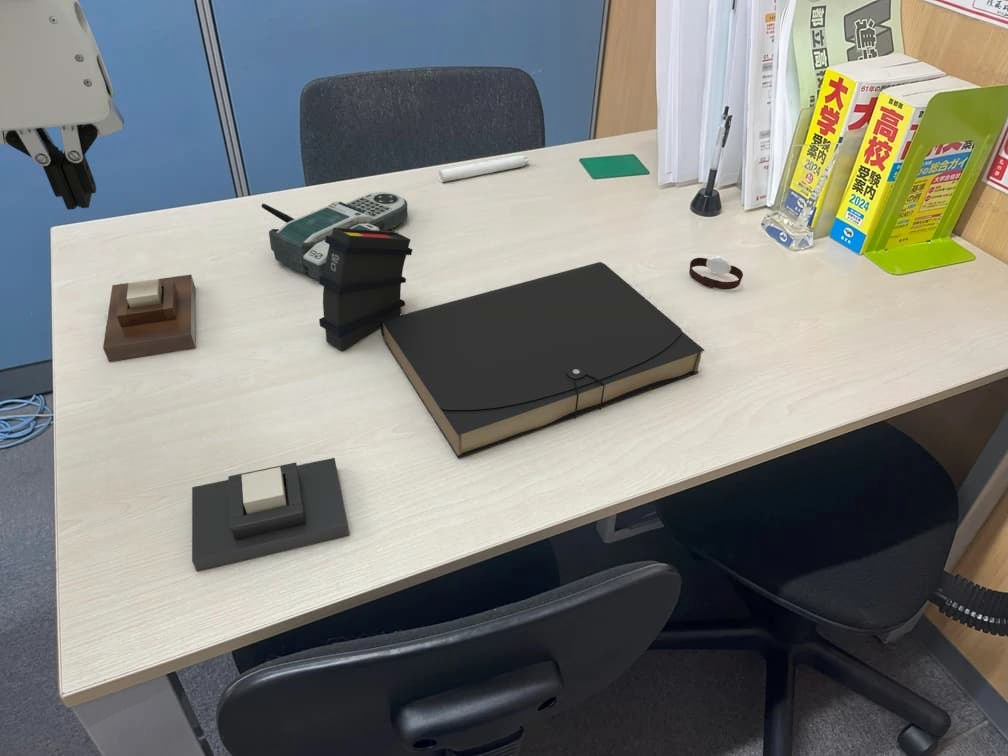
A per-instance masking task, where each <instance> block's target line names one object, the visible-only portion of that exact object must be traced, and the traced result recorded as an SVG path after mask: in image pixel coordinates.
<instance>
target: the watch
mask: <svg viewBox="0 0 1008 756" xmlns="http://www.w3.org/2000/svg"><path fill="white" fill-rule="evenodd" d="M694 267H705V268H707V269H708V270H709V271H710V272H711V273H713V274H715V275H718V276H724V275H726V274H730V275H733V276H734V277H736V278H737V279H736V280H733V281H722V280H719V279H713V278H711V277H709V276H705V275H704V276H703V275H701V274H700V273H698V272H696V271H695V270H694V269H693V268H694ZM688 273H689V276H690V278H691V279H692V280H694V281H695V282H697V283H699V284H700V285H702V286H704V287H707V288H710V289H717V290H723V291H725V290H726V291H728V290H733V289H736V288H738V287H739V286H741V285H740V284H741V282H742V279H743V277H744V273H743V271H742V270H741V269H740V268H739V267H737V266H734V265H732V264H731V262H730V261H729V260H728V259H726V258H725V257H723V256H721V255H719V256H718V255H717V256H712V257H710V258H707V257H706V258H705V257H695V258H693V259H691V261H690V263H689V272H688Z"/></svg>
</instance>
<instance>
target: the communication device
mask: <svg viewBox="0 0 1008 756" xmlns="http://www.w3.org/2000/svg"><path fill="white" fill-rule="evenodd" d="M261 208H262V209H264V210H265V211H267V212H269V213H270V214H271V215H273V216H275V217H276V218H278V219H279V220H281V221H282V222H285V223H284V225H282V226H281V227H280V228H271V229H270V230H269V231H268V237H269V243H270V250H271V251H273V255H274V259H275V260H276V261H277V262H279V263H281V264H283V265H286V266H287V267H290V268H292V269H294V270H296V271H299V272H300V273H303V274H308V276H310V277H311V278H314V279H316V280H318V281H319V277H320V276H324V275H325V266H326V258H327V254H328V249H329V244H327V243H326V242H325V239H326V236H332V232H333V228H334V227H335V228H349V229H364V230H378V231H390V230H391V229H393V228H395V227H397V226H399V225H401V224H402V223H403V222H404V221H405V220H406V219H407V217H408V202H407V200H406V199H405V198H404V197H402V196H401V195H399V194H396V193H393V192H387V191H375V192H374V191H373V192H370V193H366V194H364V195H362V196H359V197H358V198H357V197H356V198H355V199H353V200H351V201H348V202H342V201H340V200H339V201H332V202H331V203H330V204H328V205H326V206H323V207H321V208H318V209H316V210H314V211H311V212H308V213H307V214H303V215H302V216H299V217H297V218H293V217H292V216H291V215H288V214H286V213H284V212H282V211H280V210H278V209H276V208H274V207H272V206H270V205H268V204H266V203H262V204H261Z"/></svg>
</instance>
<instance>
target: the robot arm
mask: <svg viewBox="0 0 1008 756" xmlns="http://www.w3.org/2000/svg"><path fill="white" fill-rule="evenodd" d="M114 99H115V95H114V88H113V84H112V81H111V78H110V75H109V72H108V69H107V66H106V64H105V62H104V59H103V56H102V54H101V52H100V49H99V46H98V43H97V41H96V39H95V36H94V34H93V31H92V29H91V26H90V24H89V22H88V19H87V17H86V15H85V11H84V10H83V8H82V6H81V4H80V2H79V0H0V146H1V145H3V146H5V145H7V146H8V145H9V146H10V147H13V148H14V149H15V150H18V151H19V152H21V153H23V154H25V155H26V156H28V157H30V158H32V160H33V161H34V163H35V164H37V166H38V165H39V166H41V167H42V168H43V171H44V172H45V175H46V177H47V180H48V183H49V185H50V187H51V190H52V192H53V194H54V196H55V197H56V198H62V200H63V202H64V205H65V207H66V210H67V211H71V210H75V209H76V208H80V209H87V208H90V204H91V199H92V194H96V192H97V186H96V182H95V178H94V176H93V173H92V171H91V168H90V166H89V165H90V164H89V162H88V160H87V157H86V153H87V152H88V151H89V149H90V148H91V146H93V144H94V142H95V141H96V139H97V138H100V137H105V136H108V135H112V134H114V133H117V132H120V131H122V130H123V128H124V124H125V118H124V117H123V115H122V114H121V111H120V110H119V108H118V106H117V105H116V103H115V102H114ZM57 127H59V130H60V135H61V139H62V145H63V149H64V151H63V150H60V148H59V147H58V146H56V144H55V143H54V140H53V139H52V137H51V136H50V134H49V132H48V131H47V129H46V128H57Z"/></svg>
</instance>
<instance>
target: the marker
mask: <svg viewBox="0 0 1008 756" xmlns="http://www.w3.org/2000/svg"><path fill="white" fill-rule="evenodd" d="M530 160H531V158H529V157H528V156H526V155H514V156H509V157H503V158H497V159H492V160H491V159H489V160H485V161H481V162H474V163H471V164H465V165H460V166H454V167H449V168H443V169H439V171H438V177H439V181H440V182H441V183H444V182H450V181H457V180H460V179H465V178H470V177H477V176H481V175H486V174H492V173H496V172H502V171H508V170H513V169H517V168H521V167H524V166H526V165H527V164H528V163H529V162H530Z"/></svg>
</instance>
